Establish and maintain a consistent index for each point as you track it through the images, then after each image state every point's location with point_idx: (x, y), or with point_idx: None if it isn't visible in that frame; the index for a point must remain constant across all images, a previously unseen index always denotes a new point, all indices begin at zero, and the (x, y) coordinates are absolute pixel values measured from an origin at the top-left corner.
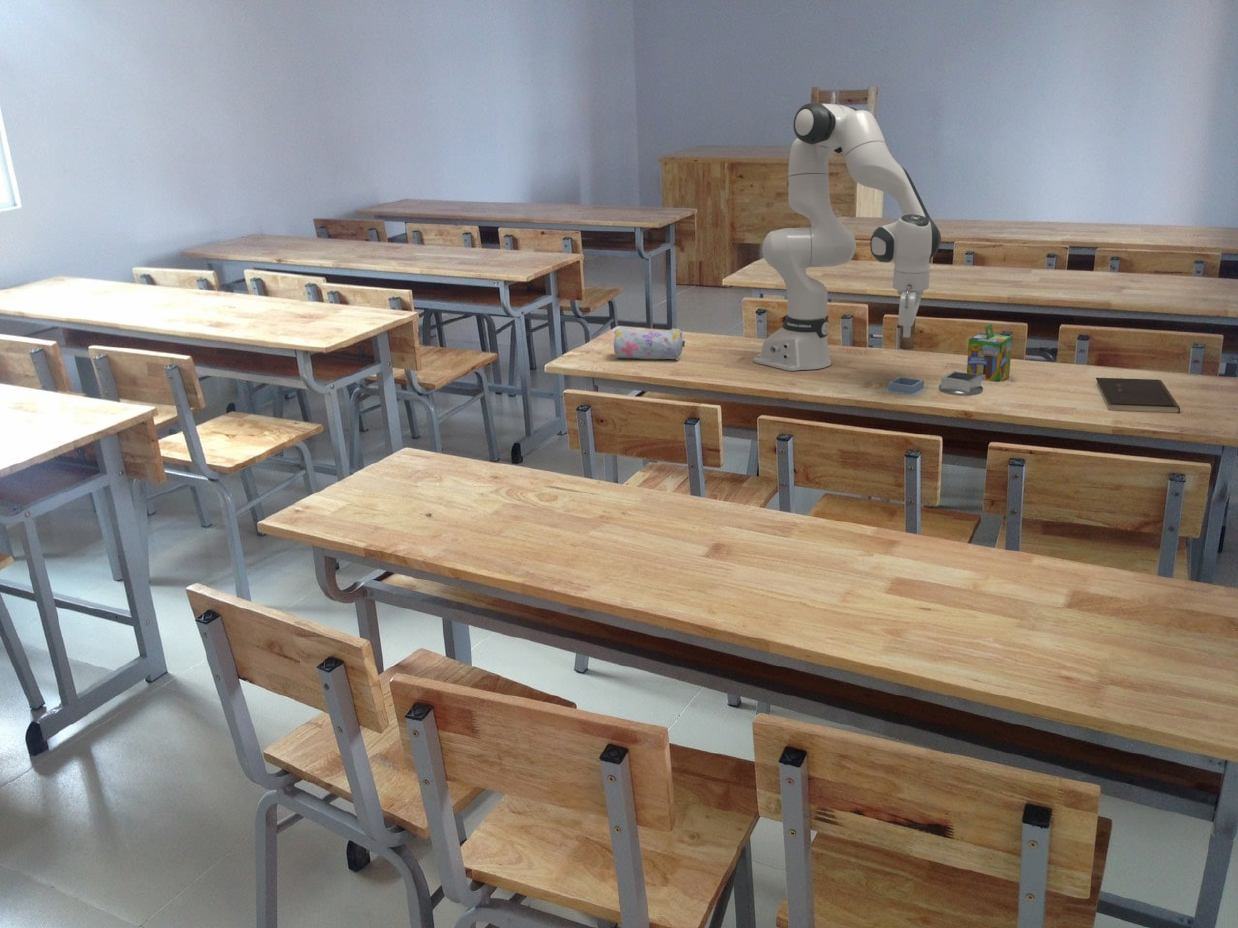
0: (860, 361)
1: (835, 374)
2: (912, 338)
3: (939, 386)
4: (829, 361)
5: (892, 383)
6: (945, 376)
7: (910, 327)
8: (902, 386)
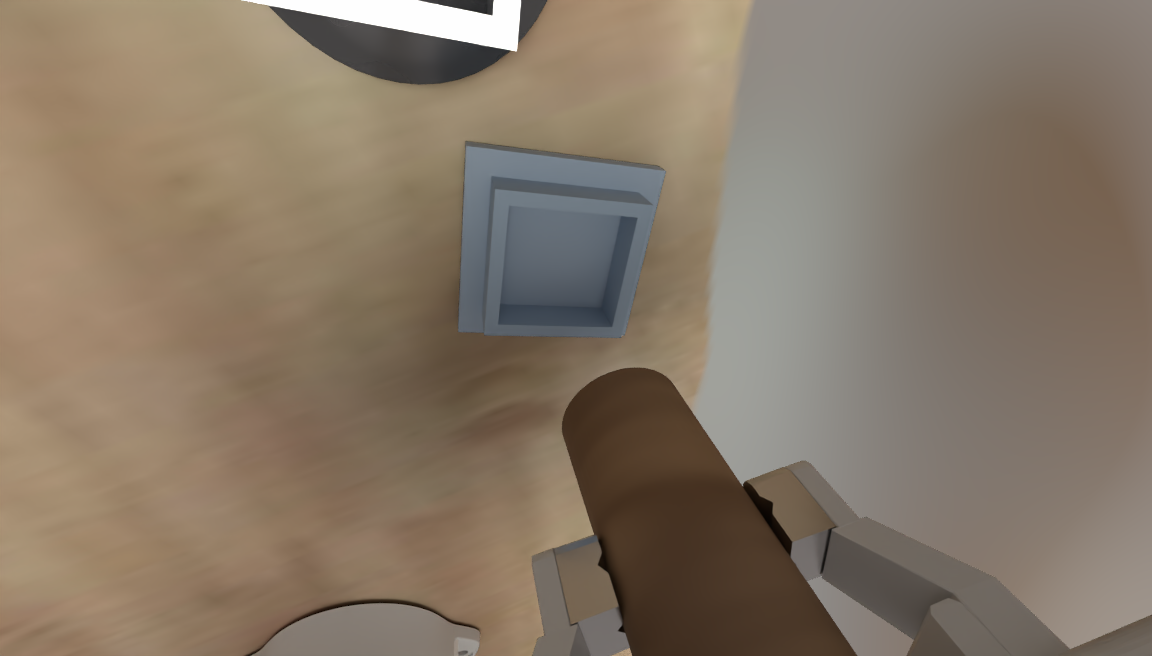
0: (171, 579)
1: (431, 549)
2: (699, 442)
3: (457, 74)
4: (328, 625)
5: (625, 317)
6: (467, 27)
7: (943, 556)
8: (636, 261)
